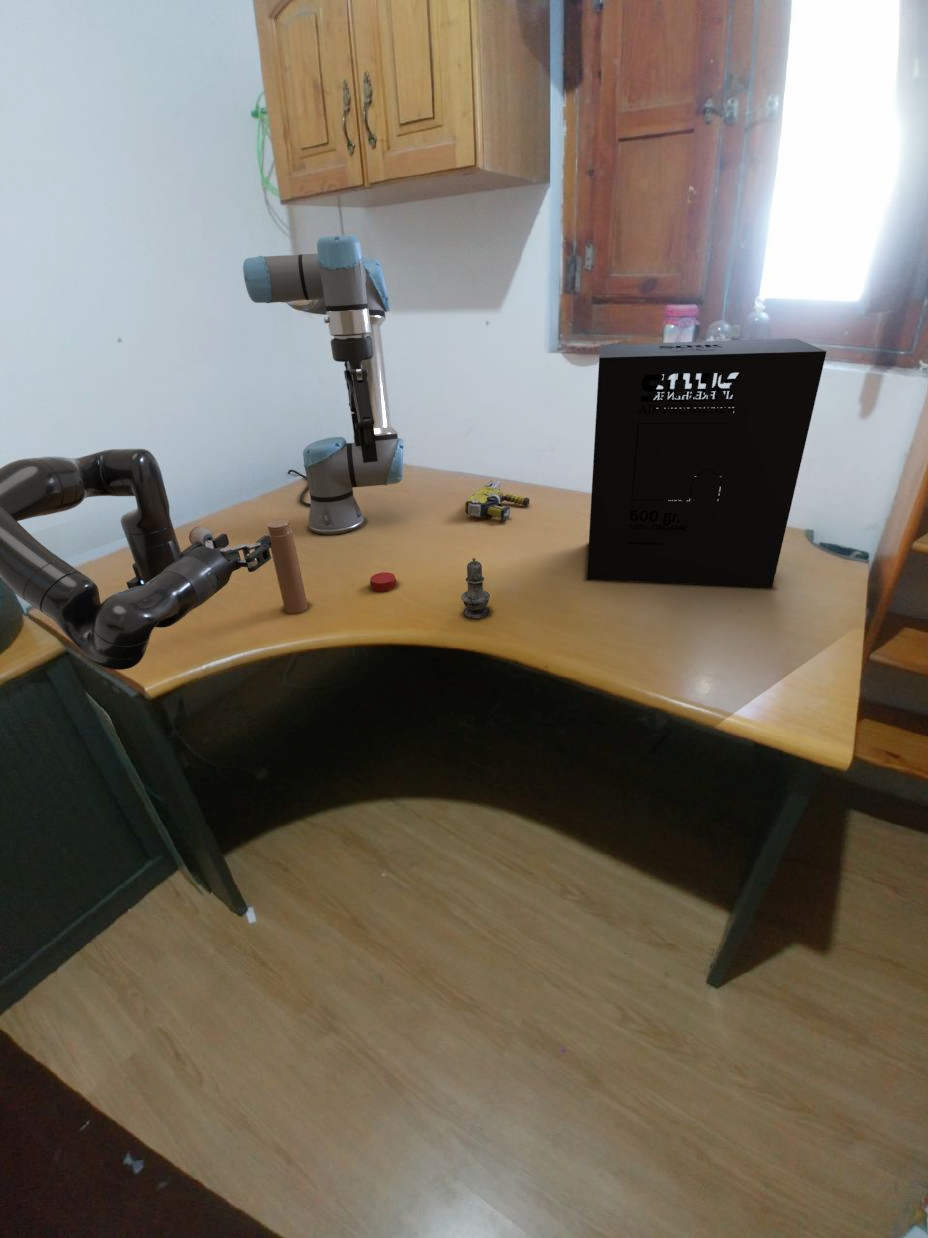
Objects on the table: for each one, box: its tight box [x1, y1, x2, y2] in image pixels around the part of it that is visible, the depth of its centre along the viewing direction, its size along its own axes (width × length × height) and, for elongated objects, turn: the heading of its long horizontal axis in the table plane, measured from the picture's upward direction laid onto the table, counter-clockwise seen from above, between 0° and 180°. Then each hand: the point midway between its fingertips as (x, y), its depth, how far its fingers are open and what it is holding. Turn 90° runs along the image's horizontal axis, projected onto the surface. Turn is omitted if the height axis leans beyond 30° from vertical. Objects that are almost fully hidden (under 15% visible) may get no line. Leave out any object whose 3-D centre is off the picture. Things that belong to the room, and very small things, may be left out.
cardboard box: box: [586, 338, 828, 589], centre depth 126 cm, size 38×20×45 cm, turn 78°
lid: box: [369, 571, 397, 593], centre depth 134 cm, size 6×6×2 cm
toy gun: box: [464, 480, 531, 522], centre depth 174 cm, size 5×24×15 cm
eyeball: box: [188, 525, 215, 545], centre depth 158 cm, size 6×6×6 cm
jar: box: [267, 519, 309, 615], centre depth 123 cm, size 5×5×19 cm
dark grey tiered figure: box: [460, 557, 491, 619], centre depth 119 cm, size 6×6×12 cm
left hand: (247, 539), depth 109 cm, fingers open, 8 cm apart
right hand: (366, 453), depth 120 cm, fingers open, 13 cm apart
